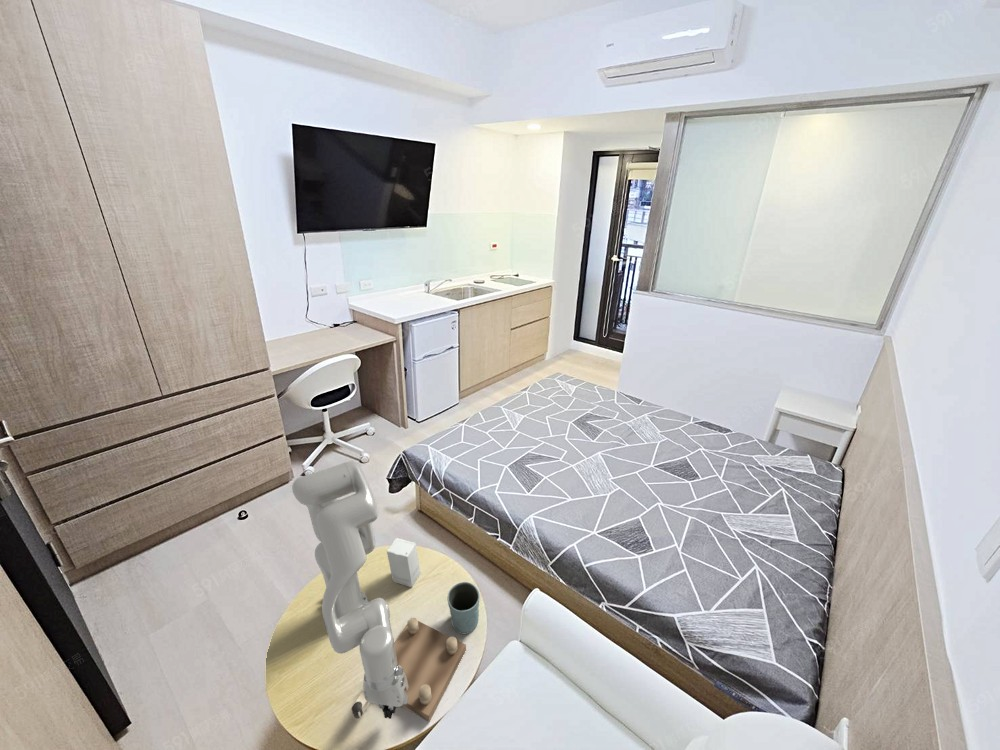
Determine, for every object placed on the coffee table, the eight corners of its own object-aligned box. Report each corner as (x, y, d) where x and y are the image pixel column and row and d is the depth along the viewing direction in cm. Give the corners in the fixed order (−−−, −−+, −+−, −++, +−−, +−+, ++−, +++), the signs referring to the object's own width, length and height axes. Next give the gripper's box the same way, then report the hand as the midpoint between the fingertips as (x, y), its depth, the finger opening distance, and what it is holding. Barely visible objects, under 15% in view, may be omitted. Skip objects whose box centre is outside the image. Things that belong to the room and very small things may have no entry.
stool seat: (370, 686, 114) (367, 672, 111) (412, 623, 131) (410, 610, 128) (429, 722, 107) (427, 708, 104) (466, 650, 123) (465, 637, 120)
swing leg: (383, 666, 116) (382, 660, 115) (392, 671, 115) (391, 665, 114) (350, 714, 105) (348, 709, 104) (359, 721, 104) (358, 715, 103)
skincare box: (420, 573, 147) (417, 542, 141) (411, 589, 142) (407, 557, 135) (400, 567, 150) (396, 536, 143) (391, 582, 144) (386, 550, 138)
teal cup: (475, 639, 126) (474, 614, 121) (444, 632, 128) (442, 607, 123) (483, 609, 135) (482, 584, 130) (454, 603, 137) (452, 579, 132)
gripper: (416, 658, 100) (422, 699, 108) (358, 650, 101) (368, 691, 109) (406, 692, 93) (413, 733, 101) (345, 683, 94) (356, 724, 102)
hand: (389, 711), depth 105 cm, fingers closed
